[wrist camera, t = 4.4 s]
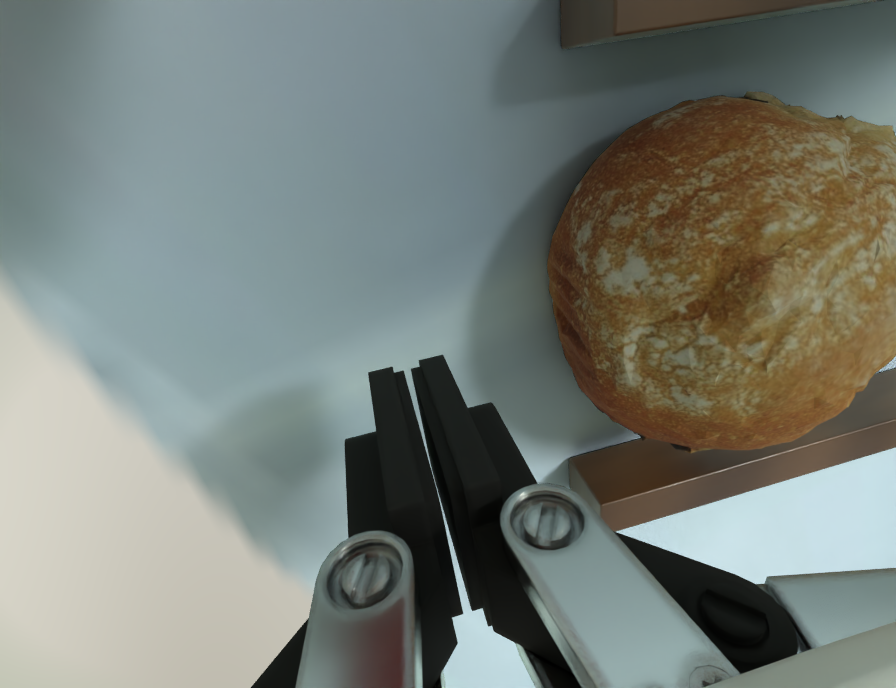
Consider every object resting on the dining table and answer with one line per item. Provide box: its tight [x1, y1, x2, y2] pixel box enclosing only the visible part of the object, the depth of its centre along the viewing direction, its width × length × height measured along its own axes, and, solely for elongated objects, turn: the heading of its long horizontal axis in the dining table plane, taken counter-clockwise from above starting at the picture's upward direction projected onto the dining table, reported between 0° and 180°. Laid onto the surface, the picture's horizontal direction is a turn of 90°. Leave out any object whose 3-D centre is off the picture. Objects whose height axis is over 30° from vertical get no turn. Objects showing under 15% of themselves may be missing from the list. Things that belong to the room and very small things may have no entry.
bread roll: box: [547, 91, 896, 453], centre depth 13 cm, size 10×10×8 cm
